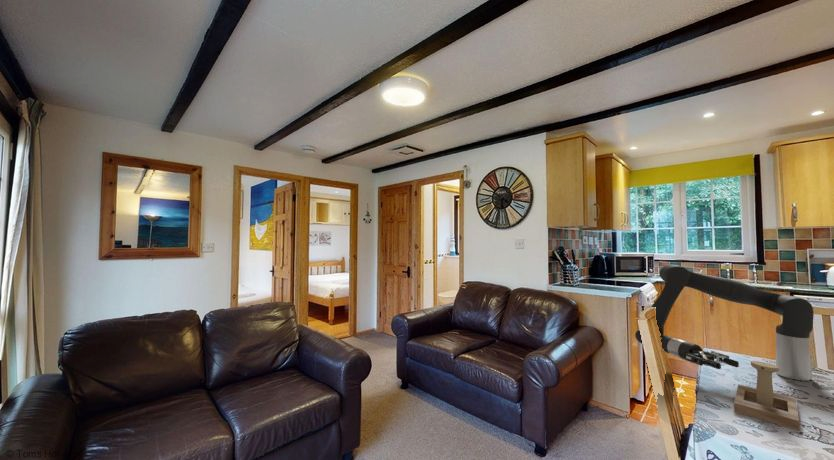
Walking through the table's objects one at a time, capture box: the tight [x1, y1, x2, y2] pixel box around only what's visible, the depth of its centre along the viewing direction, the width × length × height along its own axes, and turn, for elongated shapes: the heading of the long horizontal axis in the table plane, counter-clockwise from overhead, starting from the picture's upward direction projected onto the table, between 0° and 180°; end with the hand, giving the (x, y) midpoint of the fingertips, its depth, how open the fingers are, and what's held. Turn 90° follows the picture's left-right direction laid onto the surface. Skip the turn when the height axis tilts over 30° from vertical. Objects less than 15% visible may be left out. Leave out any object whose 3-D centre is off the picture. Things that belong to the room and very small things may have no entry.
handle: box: [750, 360, 779, 408], centre depth 110 cm, size 5×6×15 cm
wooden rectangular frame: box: [733, 383, 800, 431], centre depth 109 cm, size 20×14×3 cm
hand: (729, 365), depth 120 cm, fingers open, 8 cm apart
